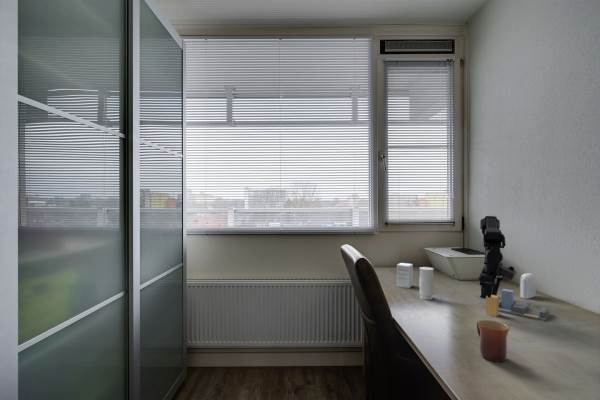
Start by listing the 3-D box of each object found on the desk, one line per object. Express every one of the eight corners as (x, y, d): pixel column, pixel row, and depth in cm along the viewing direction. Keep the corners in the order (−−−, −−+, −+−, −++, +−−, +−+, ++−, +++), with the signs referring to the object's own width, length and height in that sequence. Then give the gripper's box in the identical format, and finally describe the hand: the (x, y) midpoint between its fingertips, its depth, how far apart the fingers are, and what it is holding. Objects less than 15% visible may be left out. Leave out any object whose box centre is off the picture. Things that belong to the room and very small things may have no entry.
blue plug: (501, 307, 153) (501, 290, 153) (503, 305, 156) (503, 288, 156) (511, 309, 151) (511, 292, 151) (513, 307, 153) (513, 290, 153)
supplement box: (400, 283, 199) (400, 262, 199) (413, 285, 195) (413, 264, 195) (396, 286, 193) (396, 264, 193) (409, 288, 189) (409, 265, 189)
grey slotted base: (491, 310, 153) (491, 303, 153) (498, 304, 161) (498, 298, 161) (545, 321, 139) (545, 314, 139) (550, 314, 147) (550, 307, 147)
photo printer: (527, 294, 179) (527, 271, 179) (536, 296, 175) (537, 272, 175) (518, 297, 173) (518, 273, 173) (527, 299, 169) (528, 275, 169)
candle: (419, 299, 169) (419, 269, 169) (419, 295, 175) (419, 266, 175) (433, 300, 166) (434, 270, 166) (433, 296, 173) (433, 267, 173)
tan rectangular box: (485, 314, 147) (486, 296, 147) (488, 312, 150) (488, 294, 150) (496, 316, 144) (496, 297, 144) (498, 314, 147) (498, 296, 147)
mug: (516, 363, 102) (516, 330, 102) (488, 364, 102) (489, 330, 102) (490, 346, 114) (490, 316, 114) (466, 347, 114) (466, 316, 114)
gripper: (508, 265, 135) (508, 304, 135) (519, 259, 148) (519, 294, 148) (478, 261, 143) (477, 298, 143) (491, 256, 156) (491, 290, 156)
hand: (492, 295), depth 147 cm, fingers open, 9 cm apart
